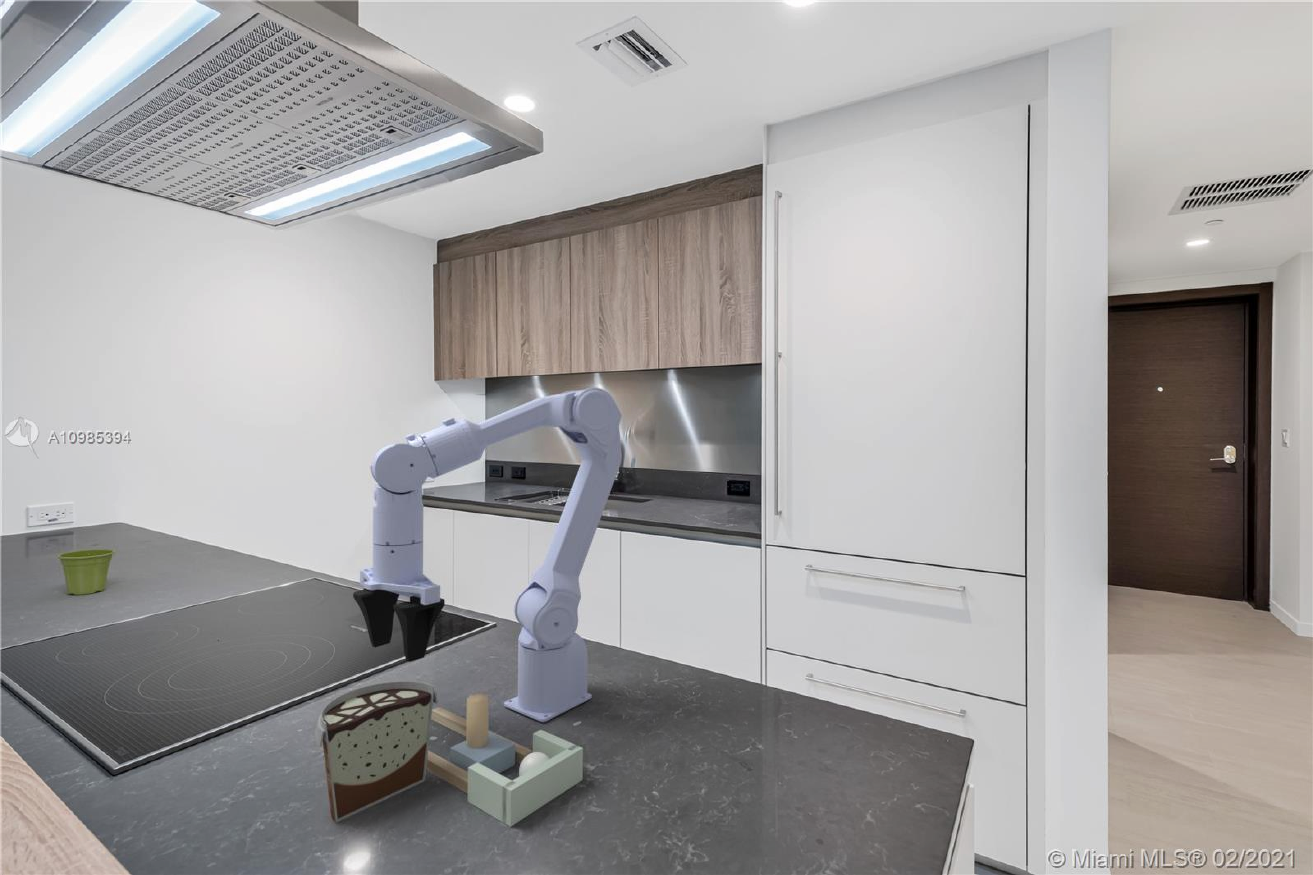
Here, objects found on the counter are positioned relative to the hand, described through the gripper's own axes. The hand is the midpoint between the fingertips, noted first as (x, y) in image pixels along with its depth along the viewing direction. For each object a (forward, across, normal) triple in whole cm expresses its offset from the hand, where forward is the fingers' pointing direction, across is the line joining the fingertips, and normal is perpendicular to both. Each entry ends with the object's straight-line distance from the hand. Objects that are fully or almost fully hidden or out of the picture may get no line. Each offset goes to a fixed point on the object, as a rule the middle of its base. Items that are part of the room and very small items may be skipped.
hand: (397, 651), depth 76 cm
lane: (+10, +8, +2) cm, 14 cm away
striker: (+10, +13, +2) cm, 17 cm away
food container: (+11, +8, -8) cm, 16 cm away
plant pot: (+11, -113, -7) cm, 114 cm away
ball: (+9, +22, +3) cm, 23 cm away
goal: (+10, +21, +2) cm, 24 cm away
